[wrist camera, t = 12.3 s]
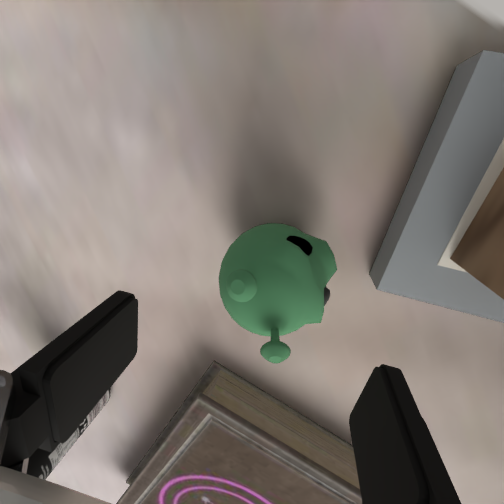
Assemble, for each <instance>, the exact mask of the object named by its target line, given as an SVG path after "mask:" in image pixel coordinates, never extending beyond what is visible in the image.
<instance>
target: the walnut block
mask: <svg viewBox="0 0 504 504" xmlns="http://www.w3.org/2000/svg"><path fill="white" fill-rule="evenodd" d="M450 259H451V260H452V261H453V262H455V263H456V264H457V265H459V266H460V267H461V268H463V269H464V270H465V271H467V272H468V273H469V274H471V275H472V276H473V277H475V278H476V279H477V280H478V281H480V282H481V283H482V284H484V285H485V286H486V287H488V288H489V289H490V290H492V291H493V292H494V293H496V294H497V295H498V296H500V297H501V298H502V299H504V168H503V169H502V171H501V173H500V174H499V176H498V178H497V179H496V181H495V183H494V185H493V186H492V188H491V190H490V191H489V193H488V195H487V196H486V198H485V200H484V202H483V203H482V205H481V207H480V208H479V210H478V212H477V214H476V215H475V217H474V219H473V220H472V222H471V224H470V225H469V227H468V229H467V231H466V232H465V234H464V236H463V237H462V239H461V241H460V242H459V244H458V246H457V248H456V249H455V251H454V253H453V254H452V256H451V258H450Z"/></svg>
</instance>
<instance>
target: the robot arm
mask: <svg viewBox="0 0 504 504" xmlns="http://www.w3.org/2000/svg"><path fill="white" fill-rule="evenodd" d="M137 334H138V300H137V299H135V296H134V294H131V293H127V292H124V291H117V292H115V293H114V294H113V295H112V296H110V297H109V298H108V299H106V300H105V301H104V302H102V303H101V304H100V305H99V306H97V307H96V308H95V309H93V310H92V311H91V312H90V313H88V314H87V315H86V316H84V317H83V318H82V319H80V320H79V321H78V322H77V323H75V324H74V325H73V326H71V327H70V328H69V329H67V330H66V331H65V332H64V333H62V334H61V335H60V336H58V337H57V338H56V339H55V340H53V341H52V342H51V343H49V344H48V345H47V346H45V347H44V348H43V349H42V350H40V351H39V352H38V353H36V354H35V355H34V356H33V357H31V358H30V359H29V360H27V361H26V362H25V363H23V364H22V365H21V366H20V367H18V368H17V369H16V370H15V371H13V372H12V373H11V374H10V373H9V372H6V371H4V370H0V504H111V503H108V502H105V501H102V500H100V499H97V498H94V497H91V496H89V495H86V494H83V493H80V492H77V491H75V490H72V489H69V488H66V487H64V486H61V485H58V484H55V483H52V482H49V481H46V480H43V479H40V478H37V477H34V476H31V475H28V474H26V473H27V467H28V461H29V457H30V456H31V455H32V454H33V453H34V452H35V451H36V450H37V448H40V449H43V450H45V451H48V452H51V453H52V452H53V451H54V450H55V449H56V448H57V446H58V445H59V444H60V443H64V442H66V441H67V440H68V439H69V438H70V437H71V436H72V434H73V433H74V432H75V431H76V429H77V428H78V427H79V426H80V424H81V423H82V422H83V421H84V419H85V418H86V417H87V416H88V414H89V413H90V412H91V411H92V409H93V408H94V407H95V406H96V405H97V403H98V402H99V401H100V400H101V398H102V397H103V396H104V395H105V393H106V392H107V391H108V390H109V388H110V387H111V386H112V385H113V383H114V382H115V381H116V380H117V378H118V377H119V376H120V375H121V373H122V372H123V371H124V370H125V369H126V367H127V366H128V365H129V364H130V362H131V361H132V360H133V358H134V357H135V355H136V353H137ZM349 424H350V431H351V437H352V443H353V449H354V455H355V461H356V467H357V474H358V480H359V486H360V492H361V498H362V504H461V502H460V500H459V497H458V495H457V493H456V491H455V488H454V486H453V484H452V482H451V479H450V477H449V475H448V472H447V470H446V468H445V466H444V463H443V461H442V459H441V457H440V454H439V452H438V450H437V448H436V445H435V443H434V441H433V438H432V436H431V434H430V432H429V429H428V427H427V425H426V423H425V421H424V419H423V418H422V417H421V414H420V412H419V410H418V408H417V405H416V403H415V401H414V398H413V396H412V394H411V391H410V389H409V387H408V385H407V382H406V380H405V378H404V375H403V373H402V371H401V370H400V369H398V368H395V367H391V366H388V365H384V364H382V365H380V367H375V368H374V370H373V372H372V374H371V376H370V378H369V380H368V381H367V383H366V385H365V387H364V389H363V391H362V393H361V395H360V397H359V399H358V401H357V403H356V404H355V406H354V408H353V410H352V412H351V414H350V419H349Z"/></svg>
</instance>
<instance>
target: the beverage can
mask: <svg viewBox="0 0 504 504" xmlns="http://www.w3.org/2000/svg"><path fill="white" fill-rule="evenodd" d="M109 398H110V388H109V390H108V391H107V392H106V393H105V395H104V396H103V397H102V398H101V400H100V401H99V402H98V403H97V405H96V406H95V407H94V408H93V409H92V411H91V412H90V413H89V414H88V416H87V417H86V418H85V419H84V421H83V422H82V423H81V424H80V426H79V427H78V428H77V429H76V431H75V432H74V433H73V434H72V436H71V437H70V438H69V439H68V440H67V441H66V442H64V443H60V444H59V445H58V446H57V448H56V449H55V450H54V451H53V452H52V453H51V452H48V451H45V450H43V449H40V448H37V450H36V451H35V452H34V453H33V454H32V455H31V456H30V457H29V461H28V467H27V473H26V474H28V475H31V476H34V477H37V478H40V479H43V480H45V479H46V478H47V477H48V476H49V474H50V473H51V472H52V471H53V469H54V468H55V467H56V466H57V464H58V463H59V462H60V461H61V459H62V458H63V457H64V456H65V454H66V453H67V452H68V451H69V449H70V448H71V447H72V446H73V444H74V443H75V442H76V441H77V439H78V438H79V437H80V436H81V434H82V433H83V432H84V431H85V429H86V428H87V427H88V426H89V424H90V423H91V422H92V421H93V419H94V418H95V417H96V416H97V414H98V413H99V412H100V411H101V409H102V408H103V407H104V406H105V404H106V403H107V402H108V400H109Z"/></svg>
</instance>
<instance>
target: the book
mask: <svg viewBox="0 0 504 504" xmlns="http://www.w3.org/2000/svg"><path fill="white" fill-rule="evenodd" d="M126 483H127V484H129V485H130V486H129V487H128V489H127V490H126V491H125V493H124V494H123V495H122V497H121V498H120V499H119V501H118V502H117V503H116V504H362V498H361V492H360V486H359V480H358V474H357V467H356V461H355V455H354V449H353V446H352V445H351V444H349V443H347V442H346V441H344V440H342V439H341V438H339V437H338V436H336V435H334V434H333V433H331V432H329V431H328V430H326V429H325V428H323V427H321V426H320V425H318V424H316V423H315V422H313V421H311V420H310V419H308V418H307V417H305V416H303V415H302V414H300V413H298V412H297V411H295V410H294V409H292V408H290V407H289V406H287V405H285V404H284V403H282V402H281V401H279V400H277V399H276V398H274V397H272V396H271V395H269V394H268V393H266V392H264V391H263V390H261V389H259V388H258V387H256V386H255V385H253V384H251V383H250V382H248V381H246V380H245V379H243V378H242V377H240V376H238V375H237V374H235V373H233V372H232V371H230V370H229V369H227V368H225V367H224V366H222V365H220V364H219V363H217V362H216V361H213V363H212V364H211V366H210V367H209V368H208V370H207V371H206V372H205V374H204V375H203V377H202V378H201V379H200V381H199V382H198V383H197V385H196V386H195V388H194V389H193V390H192V392H191V393H190V394H189V396H188V397H187V399H186V400H185V401H184V403H183V404H182V405H181V407H180V408H179V410H178V411H177V412H176V414H175V415H174V416H173V418H172V419H171V421H170V422H169V423H168V425H167V426H166V428H165V429H164V430H163V432H162V433H161V434H160V436H159V437H158V439H157V440H156V441H155V443H154V444H153V445H152V447H151V448H150V450H149V451H148V452H147V454H146V455H145V456H144V458H143V459H142V461H141V462H140V463H139V465H138V466H137V467H136V469H135V470H134V472H133V473H132V474H131V476H130V477H129V478H128V480H127V481H126Z"/></svg>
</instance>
